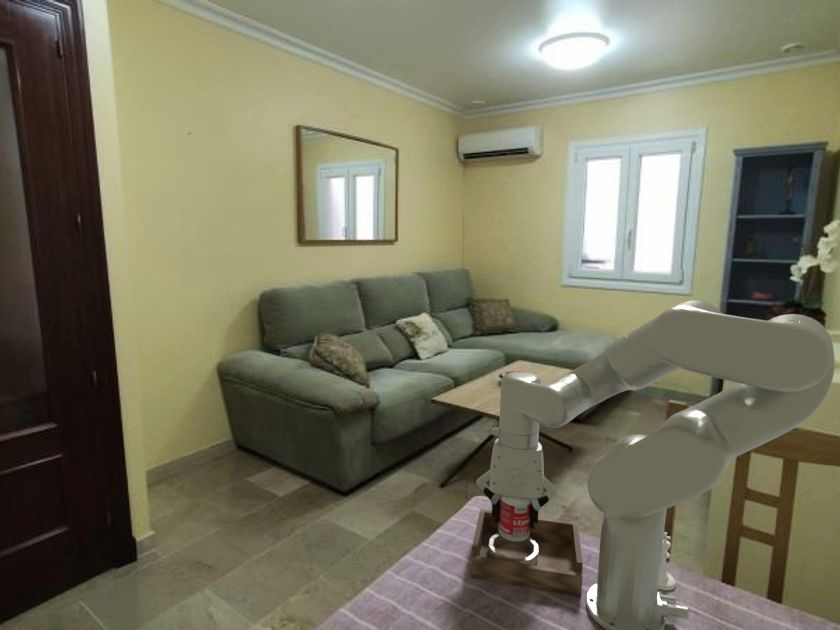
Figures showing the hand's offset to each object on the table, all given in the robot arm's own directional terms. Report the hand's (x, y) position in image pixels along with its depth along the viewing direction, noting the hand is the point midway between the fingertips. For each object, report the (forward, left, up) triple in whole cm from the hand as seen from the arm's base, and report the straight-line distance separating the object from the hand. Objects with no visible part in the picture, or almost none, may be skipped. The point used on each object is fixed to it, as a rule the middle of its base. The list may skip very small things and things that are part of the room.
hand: (514, 521), depth 96 cm
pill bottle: (0, 0, -3) cm, 3 cm away
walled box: (-3, +1, -8) cm, 9 cm away
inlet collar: (0, 0, -8) cm, 8 cm away
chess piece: (-28, 0, -8) cm, 29 cm away
